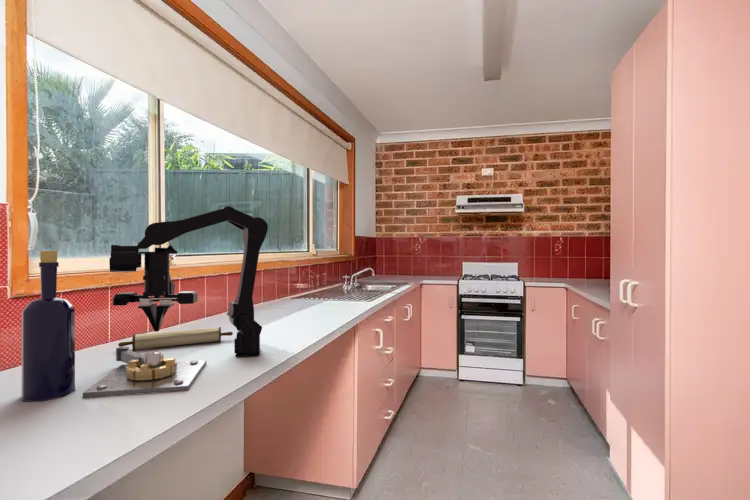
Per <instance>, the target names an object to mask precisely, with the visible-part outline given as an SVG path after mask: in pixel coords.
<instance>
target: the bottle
mask: <svg viewBox="0 0 750 500" xmlns="http://www.w3.org/2000/svg"><path fill="white" fill-rule="evenodd" d="M39 257H40V262H38V268H39V269H40V298H37V299H34V300H30V301H29V303H28V304H27V305H26V306H25V307H24V308H23V309H21V375H20V377H21V382H20V383H21V386H20V387H21V389H20V390H21V391H20V392H21V397H20V399H21V398H22V399H23V401H22V402H23V403H30V402H31V403H32V402H33V403H35V402H39V403H40V402H42V403H43V402H47V401H50V400H55V399H59V398H64V397H66V396H68V395H70V394H71V393H75V392H76V390H77V389H76V369H75V368H76V349H75V348H76V347H75V346H76V345H75V344H76V341H75V340H76V338H75V337H76V335H75V333H76V331H75V330H76V329H75V327H76V326H75V325H76V318H75V317H76V316H75V315H76V314H75V313H76V312H75V311H76V310H75V307H74V305H73V304H72V303H70V302H69V301H68V299H66V298H63V297H62V298H61V297H58V296H57V291H58V290H57V289H58V287H57V286H58V268H59V266H60V265H59V262H58V251H57V250H40V251H39ZM22 399H21V400H22Z"/></svg>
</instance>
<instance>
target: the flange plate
mask: <svg viewBox="0 0 750 500" xmlns="http://www.w3.org/2000/svg"><path fill="white" fill-rule="evenodd" d="M161 354H162V351H160V350H153V351H148V352H144V353H143V355H144V364H151V368H157V367H161ZM206 365H207V360H206V359H202V360H201V359H200V360H185V361H177V370H176V371H175V372H174V373H173V374H171V375H169V376H165V377H161V378H158V379H152V380H132V379H129V378H127V377H126V368H127V367H128V366H129V364H127V363H126V364H121V365H119V366H118V367H116V368H115V369H114V370H113V371H111V372H109V373H108V374H107V375H105V376H104V377H103V378H101V379H100V380H99V381H97V382H96V383H95V384H93V385H92V386H90V387H89V388H87V389H86V390H85V391H83V392H82V398H83V399H84V397H87V398H98V397H97V396H101V397H112V396H111V395H115V396H125V395H124V394H130V395H137V394H136V393H144V394H153V393H152V392H158V393H167V392H166V391H172V392H184V391H185V392H186V391H189V390H190V388H191V387H192V385H194V383H195V381H196V380H197V378H198V377H199V375H200V374H201V373H202V371H203V369H204V368H205V366H206ZM164 391H165V392H164ZM150 392H151V393H150Z"/></svg>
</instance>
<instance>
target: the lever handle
mask: <svg viewBox="0 0 750 500" xmlns="http://www.w3.org/2000/svg"><path fill="white" fill-rule="evenodd" d="M115 361H116V362H121V363H125V364H126V365H127V364H129V366H128V367H127V368H126V377H127V378H129V379H132V380H152V379H158V378H161V377H165V376H169V375H171V374H173V373H174V372H175V371H176V370H177V362H178V361H177V360H176V357H174V358H171V357H170V358H169V357H167V358H165V357H164V354H162V353H161V367H157V368H151V364H144V354H141V353H138V352H135V351H133V350H130V347H129V346H122V347H119V346H118V347H116V350H115Z"/></svg>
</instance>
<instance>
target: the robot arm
mask: <svg viewBox="0 0 750 500" xmlns="http://www.w3.org/2000/svg"><path fill="white" fill-rule="evenodd" d="M224 222H226V223H229V224H230V225H232V226H234V227H236V228H237V229H239V230H241V231H242V240H243V244H244V245H243V246H244V247H243V248H244V249H243V250H244V251H243V256H242V263H241V269H240V275H239V282H238V289H237V295H236V297H235V299H234V301H231V300H229V302H228V312H227V313H226V316H228V319H229V322H230V323H231V325H233V326H234V327H235V329H236V330H237V333H236V336H235V338H234V345H233V346H234V354H235V357H238V358H239V357H240V358H241V357H257V356H260V355H261V350H262V349H261V333H262V330H263V326H261V325H260V323H258V322H257V321H256V320H255V307H254V300H253V299H254V298H253V295H254V289H255V288H254V287H255V283H256V276H257V270H258V262H259V256H260V250H261V248H262V245H263V243H264V241H265V239H266V236H267V234H268V230H269V225H268V223H267V221H266V220H265V219H263V218H262V217H253V216H251V215H249V214H247V213H245V212H243V211H240V210H237V209H236V208H235V207H233V206H230V205H229V206H224V207H222V208H220V209H216V210H213V211H209V212H206V213H203V214H202V213H201V214H198V215H195V216H191V217H188V218H184V219H179V220H178V219H177V220H170V221H159V222H153V223H150V224H149V225H147V227H145V229H144V237H143V238H142V239H141V240H140V241H139V242H137V245H119V244H111V246H110V257H109V273H118V272H119V273H129V272H132V273H134V272H137V269H138V268H139V269H140V268H142V254H143V255H144V262H143V263H144V264H143V265H144V270H143V271H144V272H143V273H144V275H142V281H144V288H143V289H144V290H143V292H142V294H139V293H138V292H137V291H130V292H128V291H126V292H125V291H123V292H119V293H116V294H114V295H113V297H112V306H114V307H115V306H127V305H128V304H129V303H139V305H138V306H137V308H138V309H141V310H142V311H143V312H144V314H145V316H146V317H147V319H148V321H149V323H150V326H151V327H152V329H153V331H154V333H157V332H160V329H161V326H162V324H163V322H164V321H163V320H165V319H164V318H165V315H166V314H167V312H168V310H169V308H171V307H173V306H175V302H177V303H178V304H179V305H191V304H195V303H196V302H198V301H199V299H198V295H199V294H198V293H197V291H195V290H185V291H184V290H183V291H179V292H177V294H176V293H175V290H176V289H175V288H176V284H175V282H173V281H172V279H171V274H170V255H171V254H173V255H176V254H178V252H179V251H177V250H176V249H175V248H174V247H173V245H172V244H169V245H168V246H166V247H154V251H140V250H145V249H148V248H151V246H160V245H164V244H166V243H169V242H170V241H173V240H175V239H177V238H178V237H181V236H183V235H185V234H187V233H190V232H193V231H197V230H200V229H204V228H208V227H210V226H214V225H218V224H221V223H224ZM158 303H159V305H158Z"/></svg>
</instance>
